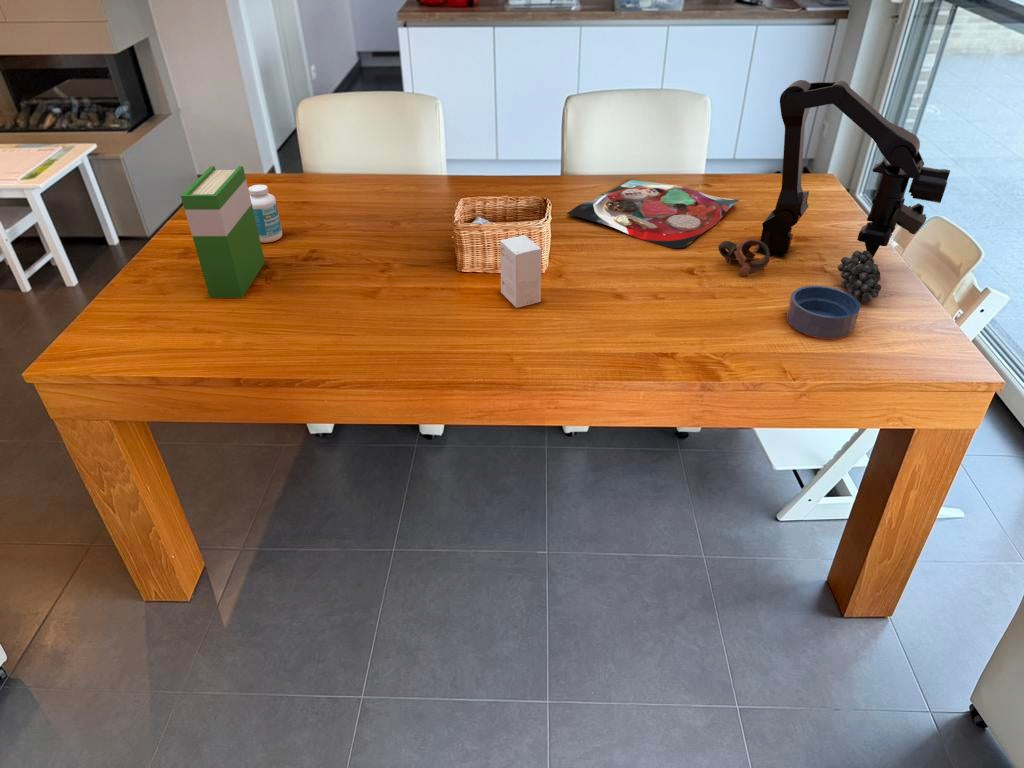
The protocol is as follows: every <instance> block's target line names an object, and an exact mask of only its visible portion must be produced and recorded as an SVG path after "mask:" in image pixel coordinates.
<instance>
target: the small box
mask: <svg viewBox="0 0 1024 768" xmlns="http://www.w3.org/2000/svg"><path fill="white" fill-rule="evenodd" d="M499 251H500V252H499V253H500V254H499V255H500V256H499V257H500V293H501V294H502V296H504V297H505V299H507V300H508V302H510V303H511V305H512V306H514V308H515V309H519V308H522V307H527V306H530V305H534V304H538V303H541V302H542V251H543V250H542V248H541V247H540V246H539V245H538V244H537V243H535V242H534V241H533V240H532V239H531V238H530V237H528V236H527V235H525V234H524V235H519V236H514V237H509V238H504V239H500V240H499Z"/></svg>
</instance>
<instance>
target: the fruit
mask: <svg viewBox="0 0 1024 768" xmlns="http://www.w3.org/2000/svg"><path fill="white" fill-rule="evenodd" d="M872 258H873V259H872ZM878 265H879V264H876V263H875V259H874V257H873V256H872V254H870V252H869V251H866V250H863V251H859V250H854V251H853V252H852V255H851V257H848V256H844V257H842V258H841V259H840V264H839V265H837V270H838V271H839V272H840V277H841V279H843V281H842V282H841V287H842V288H844V289H847V293H849V294H850V295H853V297H855V298H856V299H857V300H858V301H859V303H861V304H864V305H868V304H870V303H871V302H872V299H876V298H878V297H879V295H880V291H881V290H882V285H881V284H880V283H879V282H880V281H881V280H882V278H881V272H880V268H879V266H878Z"/></svg>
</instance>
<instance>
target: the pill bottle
mask: <svg viewBox="0 0 1024 768" xmlns="http://www.w3.org/2000/svg"><path fill="white" fill-rule="evenodd" d="M248 190H249V194H250V199H251V203H252V207H253V212H254V216H255V221H256V225H257V229H258V234H259V238H260V242H261V243H266V244H267V243H273V242H276V241H278V240H280V239H281V238H282V237H283V229H282V224H281V219H280V215H279V209H278V203H277V199H276V196H275V195H273V194H271V193H269V187H268V186H267V185H266V184H254V185H251V186H248Z"/></svg>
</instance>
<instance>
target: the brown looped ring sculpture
mask: <svg viewBox="0 0 1024 768" xmlns="http://www.w3.org/2000/svg"><path fill="white" fill-rule="evenodd" d="M756 246H758V247H759V246H761V247H762V249H763V250H764V251H765V253H766V254H765V255H764V256H765V257H764V258H763V259H761V260H759V261H754V260H753V259H754V258H755V257H756V253H755V252H752V250H751V248H752V247H756ZM717 248H718V252H719V253H720V255H721V256H722V257H723V258H724V259H725V262H726V263H728V264H729V263H730V262H733V261H734V260H735V259H737V262H738V263H739V264H740V265H741V268H740V269H739V270H738V274H739V275H740V276H742V277H745V276H747V275H748V274H749V275H750V274H754V273H758V272H761V271H763V270H764V269H765V267H767V266H768V265H769V262H770V256H771V255H770V252H769V248H768V247H767V245H766V244H765V243H763V242H762V241H760V240H759V239H756V238H747V239H744V240H742V241H739V242H737V243H735V242H733V241H730V240H724V241H722V242H720V243H719V244H718V246H717ZM747 260H749V261H750V262H749V263H748V262H746V261H747Z"/></svg>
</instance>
